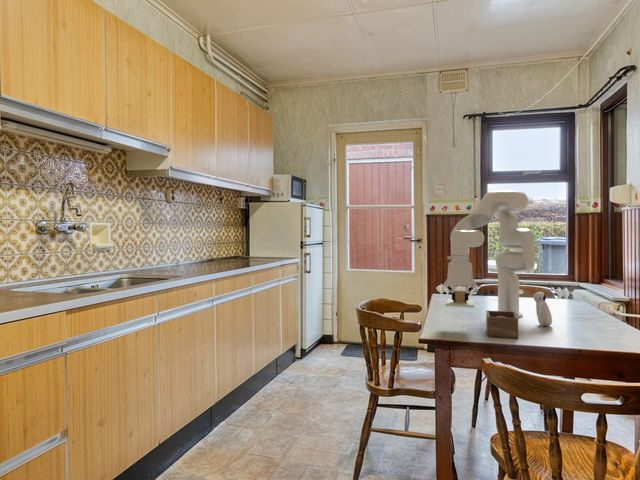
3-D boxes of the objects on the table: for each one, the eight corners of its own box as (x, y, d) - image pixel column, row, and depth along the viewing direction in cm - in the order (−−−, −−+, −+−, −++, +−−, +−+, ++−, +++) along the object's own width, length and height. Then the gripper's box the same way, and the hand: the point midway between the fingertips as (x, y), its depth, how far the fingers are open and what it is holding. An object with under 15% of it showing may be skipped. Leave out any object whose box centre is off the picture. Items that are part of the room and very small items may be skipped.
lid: (447, 300, 192) (447, 287, 191) (473, 301, 188) (473, 288, 188) (445, 306, 178) (445, 292, 178) (474, 307, 175) (474, 293, 175)
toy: (555, 329, 182) (555, 293, 181) (537, 328, 183) (537, 293, 183) (547, 323, 193) (547, 290, 192) (530, 322, 194) (530, 289, 194)
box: (486, 329, 183) (486, 310, 183) (514, 330, 180) (514, 311, 179) (487, 337, 170) (487, 317, 170) (518, 339, 166) (518, 318, 166)
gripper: (439, 259, 181) (439, 302, 182) (481, 260, 176) (481, 304, 176) (440, 258, 188) (440, 299, 189) (480, 258, 183) (480, 301, 183)
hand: (460, 301), depth 182 cm, fingers closed on lid, 4 cm apart
